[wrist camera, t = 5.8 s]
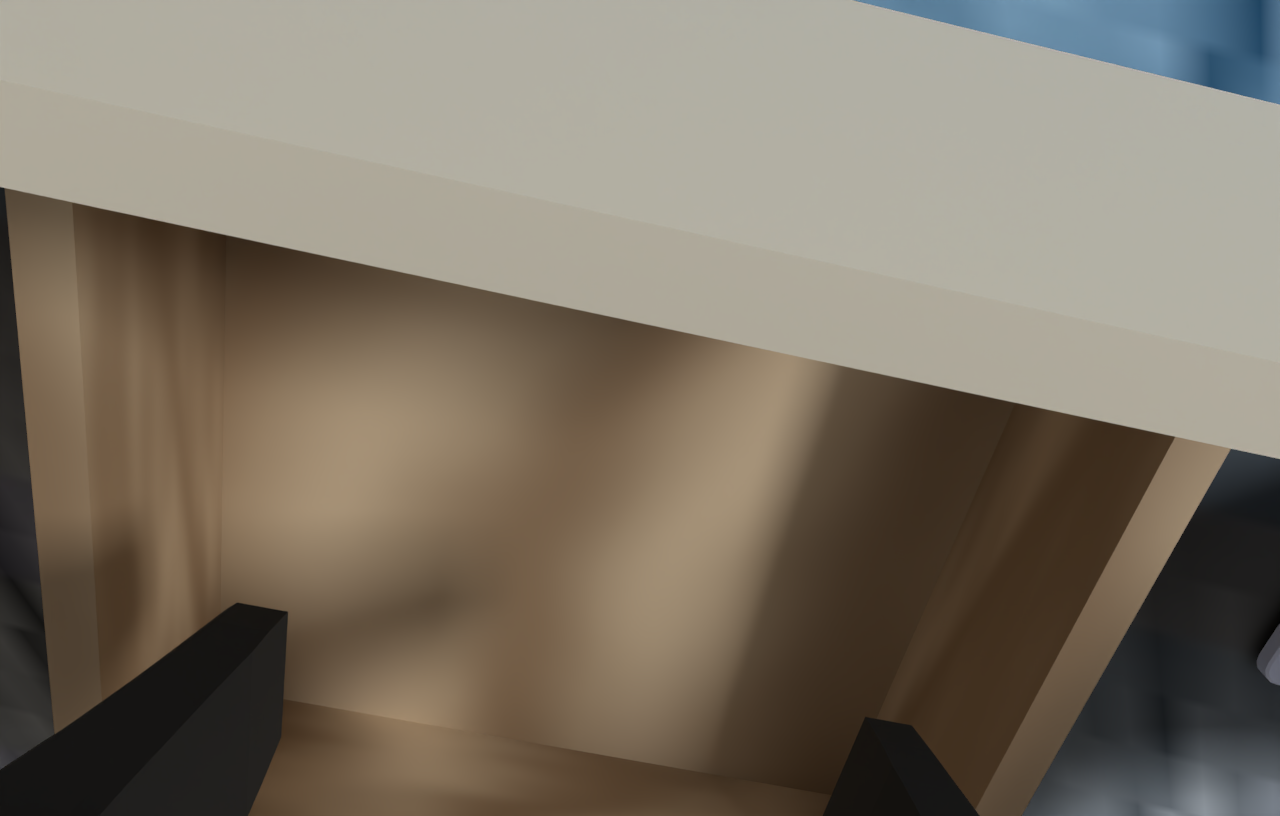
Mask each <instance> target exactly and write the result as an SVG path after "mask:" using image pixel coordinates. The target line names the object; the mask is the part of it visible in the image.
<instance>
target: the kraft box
mask: <svg viewBox="0 0 1280 816" xmlns="http://www.w3.org/2000/svg"><path fill="white" fill-rule="evenodd" d="M5 198H6V209H7V220H8V231H9V242H10V253H11V264H12V275H13V286H14V297H15V307H16V318H17V329H18V340H19V351H20V362H21V373H22V384H23V395H24V406H25V417H26V428H27V439H28V450H29V461H30V472H31V483H32V493H33V504H34V515H35V526H36V537H37V548H38V559H39V570H40V581H41V592H42V603H43V614H44V625H45V636H46V647H47V658H48V669H49V679H50V690H51V701H52V712H53V723H54V734H56V733H57V732H59V731H60V730H62V729H63V728H65V727H66V726H68V725H69V724H70V723H72V722H73V721H75V720H76V719H78V718H79V717H81V716H82V715H83V714H85V713H86V712H88V711H89V710H90V709H92V708H93V707H95V706H96V705H97V704H99V703H100V702H102V701H103V700H104V699H106V698H107V697H109V696H110V695H111V694H113V693H114V692H116V691H117V690H119V689H120V688H121V687H123V686H124V685H126V684H127V683H128V682H130V681H131V680H133V679H134V678H135V677H137V676H138V675H139V674H141V673H142V672H143V671H145V670H146V669H147V668H149V667H150V666H152V665H153V664H154V663H156V662H157V661H158V660H160V659H161V658H162V657H164V656H165V655H166V654H168V653H169V652H170V651H172V650H173V649H174V648H176V647H177V646H178V645H180V644H181V643H182V642H184V641H185V640H186V639H188V638H189V637H190V636H191V635H193V634H194V633H195V632H197V631H198V630H199V629H201V628H202V627H203V626H205V625H206V624H207V623H208V622H210V621H211V620H212V619H214V618H215V617H216V616H218V615H219V614H220V613H222V612H223V611H224V610H226V609H227V608H229V607H230V606H232V605H234V604H235V603H243V604H248V605H254V606H259V607H265V608H270V609H276V610H281V611H287V612H288V625H287V643H286V661H285V679H284V697H283V715H282V733H281V739H280V741H279V744H278V746H277V749H276V751H275V753H274V756H273V758H272V761H271V763H270V766H269V768H268V770H267V773H266V775H265V778H264V780H263V783H262V785H261V787H260V789H259V792H258V794H257V796H256V799H255V801H254V803H253V806H252V808H251V810H250V813H249V815H248V816H823V813H824V811H825V809H826V806H827V804H828V802H829V800H830V797H831V795H832V793H833V790H834V788H835V786H836V783H837V781H838V779H839V776H840V774H841V772H842V769H843V767H844V765H845V762H846V760H847V758H848V756H849V753H850V751H851V749H852V746H853V744H854V742H855V739H856V737H857V735H858V732H859V730H860V728H861V725H862V723H863V721H864V718H865V717H869V718H874V719H880V720H885V721H891V722H896V723H902V724H907V725H912V726H913V728H914V729H915V730H916V731H917V733H918V734H919V735H920V736H921V738H922V739H923V740H924V742H925V743H926V744H927V746H928V747H929V748H930V750H931V751H932V752H933V754H934V755H935V756H936V758H937V759H938V760H939V762H940V763H941V764H942V766H943V767H944V768H945V770H946V771H947V772H948V774H949V775H950V776H951V778H952V779H953V780H954V782H955V783H956V785H957V786H958V787H959V789H960V790H961V791H962V793H963V794H964V795H965V797H966V798H967V799H968V801H969V802H970V803H971V805H972V806H973V807H974V809H975V810H976V811H977V813H978V814H979V815H980V816H1022V814H1023V812H1024V811H1025V809H1026V807H1027V805H1028V804H1029V802H1030V800H1031V798H1032V796H1033V795H1034V793H1035V791H1036V789H1037V788H1038V786H1039V784H1040V782H1041V781H1042V779H1043V777H1044V775H1045V774H1046V772H1047V770H1048V768H1049V767H1050V765H1051V763H1052V761H1053V760H1054V758H1055V756H1056V754H1057V753H1058V751H1059V749H1060V747H1061V746H1062V744H1063V742H1064V740H1065V739H1066V737H1067V735H1068V733H1069V732H1070V730H1071V728H1072V726H1073V725H1074V723H1075V721H1076V719H1077V718H1078V716H1079V714H1080V712H1081V711H1082V709H1083V707H1084V705H1085V704H1086V702H1087V700H1088V698H1089V697H1090V695H1091V693H1092V691H1093V689H1094V688H1095V686H1096V684H1097V682H1098V681H1099V679H1100V677H1101V675H1102V674H1103V672H1104V670H1105V668H1106V667H1107V665H1108V663H1109V661H1110V660H1111V658H1112V656H1113V654H1114V653H1115V651H1116V649H1117V647H1118V646H1119V644H1120V642H1121V640H1122V639H1123V637H1124V635H1125V633H1126V632H1127V630H1128V628H1129V626H1130V625H1131V623H1132V621H1133V619H1134V618H1135V616H1136V614H1137V612H1138V611H1139V609H1140V607H1141V605H1142V604H1143V602H1144V600H1145V598H1146V597H1147V595H1148V593H1149V591H1150V590H1151V588H1152V586H1153V584H1154V583H1155V581H1156V579H1157V577H1158V575H1159V574H1160V572H1161V570H1162V568H1163V567H1164V565H1165V563H1166V561H1167V560H1168V558H1169V556H1170V554H1171V553H1172V551H1173V549H1174V547H1175V546H1176V544H1177V542H1178V540H1179V539H1180V537H1181V535H1182V533H1183V532H1184V530H1185V528H1186V526H1187V525H1188V523H1189V521H1190V519H1191V518H1192V516H1193V514H1194V512H1195V511H1196V509H1197V507H1198V505H1199V504H1200V502H1201V500H1202V498H1203V497H1204V495H1205V493H1206V491H1207V490H1208V488H1209V486H1210V484H1211V483H1212V481H1213V479H1214V477H1215V476H1216V474H1217V472H1218V470H1219V468H1220V467H1221V465H1222V463H1223V461H1224V460H1225V458H1226V456H1227V454H1228V453H1229V451H1230V449H1231V448H1226V447H1221V446H1217V445H1212V444H1207V443H1202V442H1198V441H1193V440H1188V439H1184V438H1179V437H1174V436H1170V435H1165V434H1160V433H1155V432H1151V431H1146V430H1141V429H1137V428H1132V427H1127V426H1122V425H1118V424H1113V423H1108V422H1104V421H1099V420H1094V419H1090V418H1085V417H1080V416H1075V415H1071V414H1066V413H1061V412H1057V411H1052V410H1047V409H1042V408H1038V407H1033V406H1028V405H1024V404H1019V403H1014V402H1010V401H1005V400H1000V399H995V398H991V397H986V396H981V395H977V394H972V393H967V392H963V391H958V390H953V389H948V388H944V387H939V386H934V385H930V384H925V383H920V382H915V381H911V380H906V379H901V378H897V377H892V376H887V375H883V374H878V373H873V372H868V371H864V370H859V369H854V368H850V367H845V366H840V365H835V364H831V363H826V362H821V361H817V360H812V359H807V358H803V357H798V356H793V355H788V354H784V353H779V352H774V351H770V350H765V349H760V348H755V347H751V346H746V345H741V344H737V343H732V342H727V341H723V340H718V339H713V338H708V337H704V336H699V335H694V334H690V333H685V332H680V331H675V330H671V329H666V328H661V327H657V326H652V325H647V324H643V323H638V322H633V321H628V320H624V319H619V318H614V317H610V316H605V315H600V314H595V313H591V312H586V311H581V310H577V309H572V308H567V307H563V306H558V305H553V304H548V303H544V302H539V301H534V300H530V299H525V298H520V297H516V296H511V295H506V294H501V293H497V292H492V291H487V290H483V289H478V288H473V287H468V286H464V285H459V284H454V283H450V282H445V281H440V280H436V279H431V278H426V277H421V276H417V275H412V274H407V273H403V272H398V271H393V270H388V269H384V268H379V267H374V266H370V265H365V264H360V263H356V262H351V261H346V260H341V259H337V258H332V257H327V256H323V255H318V254H313V253H308V252H304V251H299V250H294V249H290V248H285V247H280V246H276V245H271V244H266V243H261V242H257V241H252V240H247V239H243V238H238V237H233V236H228V235H224V234H219V233H214V232H210V231H205V230H200V229H196V228H191V227H186V226H181V225H177V224H172V223H167V222H163V221H158V220H153V219H148V218H144V217H139V216H134V215H130V214H125V213H120V212H116V211H111V210H106V209H101V208H97V207H92V206H87V205H83V204H78V203H73V202H69V201H64V200H59V199H54V198H50V197H45V196H40V195H36V194H31V193H26V192H21V191H17V190H12V189H7V188H5Z"/></svg>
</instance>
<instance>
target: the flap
mask: <svg viewBox="0 0 1280 816" xmlns="http://www.w3.org/2000/svg"><path fill="white" fill-rule="evenodd" d="M0 187H3V188H7V189H12V190H17V191H21V192H26V193H31V194H36V195H40V196H45V197H50V198H54V199H59V200H64V201H69V202H73V203H78V204H83V205H87V206H92V207H97V208H101V209H106V210H111V211H116V212H120V213H125V214H130V215H134V216H139V217H144V218H148V219H153V220H158V221H163V222H167V223H172V224H177V225H181V226H186V227H191V228H196V229H200V230H205V231H210V232H214V233H219V234H224V235H228V236H233V237H238V238H243V239H247V240H252V241H257V242H261V243H266V244H271V245H276V246H280V247H285V248H290V249H294V250H299V251H304V252H308V253H313V254H318V255H323V256H327V257H332V258H337V259H341V260H346V261H351V262H356V263H360V264H365V265H370V266H374V267H379V268H384V269H388V270H393V271H398V272H403V273H407V274H412V275H417V276H421V277H426V278H431V279H436V280H440V281H445V282H450V283H454V284H459V285H464V286H468V287H473V288H478V289H483V290H487V291H492V292H497V293H501V294H506V295H511V296H516V297H520V298H525V299H530V300H534V301H539V302H544V303H548V304H553V305H558V306H563V307H567V308H572V309H577V310H581V311H586V312H591V313H595V314H600V315H605V316H610V317H614V318H619V319H624V320H628V321H633V322H638V323H643V324H647V325H652V326H657V327H661V328H666V329H671V330H675V331H680V332H685V333H690V334H694V335H699V336H704V337H708V338H713V339H718V340H723V341H727V342H732V343H737V344H741V345H746V346H751V347H755V348H760V349H765V350H770V351H774V352H779V353H784V354H788V355H793V356H798V357H803V358H807V359H812V360H817V361H821V362H826V363H831V364H835V365H840V366H845V367H850V368H854V369H859V370H864V371H868V372H873V373H878V374H883V375H887V376H892V377H897V378H901V379H906V380H911V381H915V382H920V383H925V384H930V385H934V386H939V387H944V388H948V389H953V390H958V391H963V392H967V393H972V394H977V395H981V396H986V397H991V398H995V399H1000V400H1005V401H1010V402H1014V403H1019V404H1024V405H1028V406H1033V407H1038V408H1042V409H1047V410H1052V411H1057V412H1061V413H1066V414H1071V415H1075V416H1080V417H1085V418H1090V419H1094V420H1099V421H1104V422H1108V423H1113V424H1118V425H1122V426H1127V427H1132V428H1137V429H1141V430H1146V431H1151V432H1155V433H1160V434H1165V435H1170V436H1174V437H1179V438H1184V439H1188V440H1193V441H1198V442H1202V443H1207V444H1212V445H1217V446H1221V447H1226V448H1231V449H1235V450H1240V451H1245V452H1250V453H1254V454H1259V455H1264V456H1268V457H1273V458H1278V459H1280V105H1279V104H1275V103H1270V102H1266V101H1262V100H1258V99H1254V98H1250V97H1246V96H1242V95H1238V94H1234V93H1230V92H1225V91H1221V90H1217V89H1213V88H1209V87H1205V86H1201V85H1197V84H1193V83H1189V82H1184V81H1180V80H1176V79H1172V78H1168V77H1164V76H1160V75H1156V74H1152V73H1148V72H1144V71H1139V70H1135V69H1131V68H1127V67H1123V66H1119V65H1115V64H1111V63H1107V62H1103V61H1099V60H1094V59H1090V58H1086V57H1082V56H1078V55H1074V54H1070V53H1066V52H1062V51H1058V50H1053V49H1049V48H1045V47H1041V46H1037V45H1033V44H1029V43H1025V42H1021V41H1017V40H1013V39H1008V38H1004V37H1000V36H996V35H992V34H988V33H984V32H980V31H976V30H972V29H968V28H963V27H959V26H955V25H951V24H947V23H943V22H939V21H935V20H931V19H927V18H923V17H918V16H914V15H910V14H906V13H902V12H898V11H894V10H890V9H886V8H882V7H877V6H873V5H869V4H865V3H861V2H857V1H853V0H0Z"/></svg>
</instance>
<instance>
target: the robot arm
mask: <svg viewBox="0 0 1280 816" xmlns="http://www.w3.org/2000/svg"><path fill="white" fill-rule="evenodd" d="M287 625H288V612H287V611H281V610H276V609H270V608H265V607H259V606H254V605H248V604H243V603H235V604H234V605H232V606H230V607H229V608H227V609H226V610H224V611H223V612H222V613H220V614H219V615H218V616H216V617H215V618H214V619H212V620H211V621H210V622H208V623H207V624H206V625H205V626H203V627H202V628H201V629H199V630H198V631H197V632H195V633H194V634H193V635H191V636H190V637H189V638H188V639H186V640H185V641H184V642H182V643H181V644H180V645H178V646H177V647H176V648H174V649H173V650H172V651H170V652H169V653H168V654H166V655H165V656H164V657H162V658H161V659H160V660H158V661H157V662H156V663H154V664H153V665H152V666H150V667H149V668H147V669H146V670H145V671H143V672H142V673H141V674H139V675H138V676H137V677H135V678H134V679H133V680H131V681H130V682H128V683H127V684H126V685H124V686H123V687H121V688H120V689H119V690H117V691H116V692H114V693H113V694H111V695H110V696H109V697H107V698H106V699H104V700H103V701H102V702H100V703H99V704H97V705H96V706H95V707H93V708H92V709H90V710H89V711H88V712H86V713H85V714H83V715H82V716H81V717H79V718H78V719H76V720H75V721H73V722H72V723H70V724H69V725H68V726H66V727H65V728H63V729H62V730H60V731H59V732H57V733H56V734H54V735H53V736H51V737H50V738H48V739H47V740H45V741H44V742H42V743H40V744H39V745H37V746H36V747H34V748H33V749H31V750H30V751H28V752H27V753H25V754H24V755H22V756H21V757H19V758H17V759H16V760H14V761H13V762H11V763H10V764H8V765H7V766H5V767H4V768H2V769H1V770H0V816H248V815H249V813H250V810H251V808H252V806H253V803H254V801H255V799H256V796H257V794H258V792H259V789H260V787H261V785H262V783H263V780H264V778H265V775H266V773H267V770H268V768H269V766H270V763H271V761H272V758H273V756H274V753H275V751H276V749H277V746H278V744H279V741H280V739H281V733H282V715H283V697H284V679H285V661H286V643H287ZM1257 668H1258V669H1259V670H1260V671H1261V672H1262V674H1263V675H1264V676H1265V677H1266V678H1267V679H1268V680H1269V681H1270V682H1271V683H1274V684H1276V685H1280V623H1279V625H1278V626H1277V628H1276V629H1275V631H1274V633H1273V634H1272V636H1271V637H1270V639H1269V640H1268V642H1267V643H1266V645H1265V646H1264V648H1263V649H1262V651H1261V652H1260V654H1259V656H1258V659H1257ZM823 816H980V815H979V814H978V813H977V811H976V810H975V809H974V807H973V806H972V805H971V803H970V802H969V801H968V799H967V798H966V797H965V795H964V794H963V793H962V791H961V790H960V789H959V787H958V786H957V785H956V783H955V782H954V780H953V779H952V778H951V776H950V775H949V774H948V772H947V771H946V770H945V768H944V767H943V766H942V764H941V763H940V762H939V760H938V759H937V758H936V756H935V755H934V754H933V752H932V751H931V750H930V748H929V747H928V746H927V744H926V743H925V742H924V740H923V739H922V738H921V736H920V735H919V734H918V733H917V731H916V730H915V729H914V728H913V726H912V725H907V724H902V723H896V722H891V721H885V720H880V719H874V718H869V717H865V718H864V721H863V723H862V725H861V728H860V730H859V732H858V735H857V737H856V739H855V742H854V744H853V746H852V749H851V751H850V753H849V756H848V758H847V760H846V762H845V765H844V767H843V769H842V772H841V774H840V776H839V779H838V781H837V783H836V786H835V788H834V790H833V793H832V795H831V797H830V800H829V802H828V804H827V806H826V809H825V811H824V813H823Z"/></svg>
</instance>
